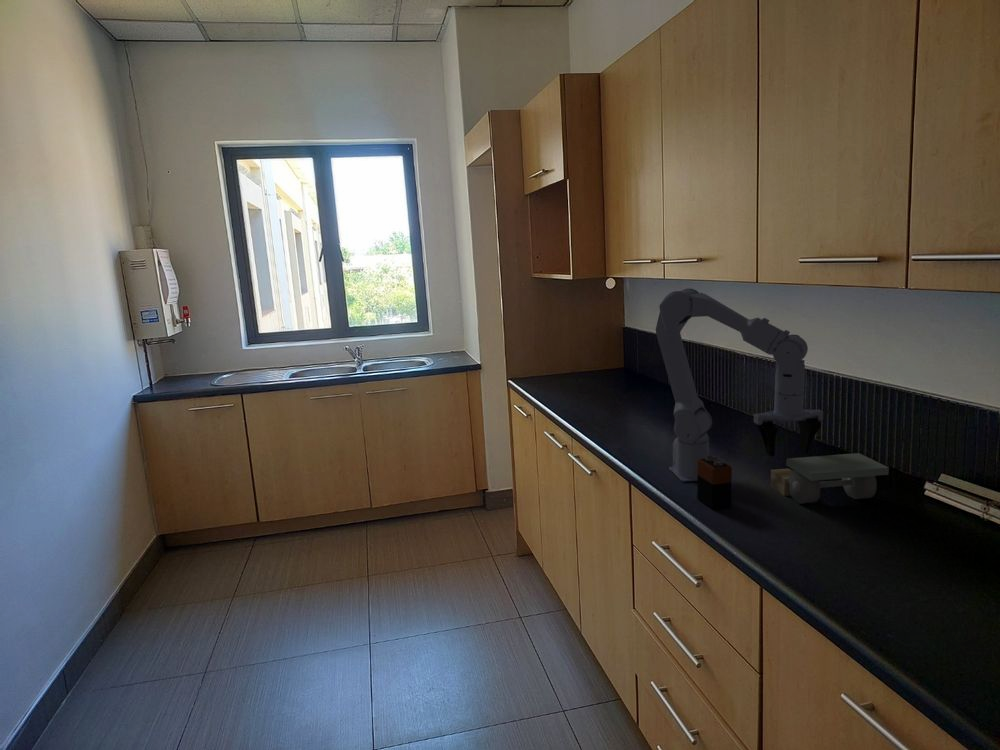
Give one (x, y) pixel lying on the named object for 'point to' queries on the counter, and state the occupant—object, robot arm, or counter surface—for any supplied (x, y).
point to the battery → (714, 482)
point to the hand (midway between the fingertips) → (787, 453)
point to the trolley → (833, 476)
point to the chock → (780, 481)
